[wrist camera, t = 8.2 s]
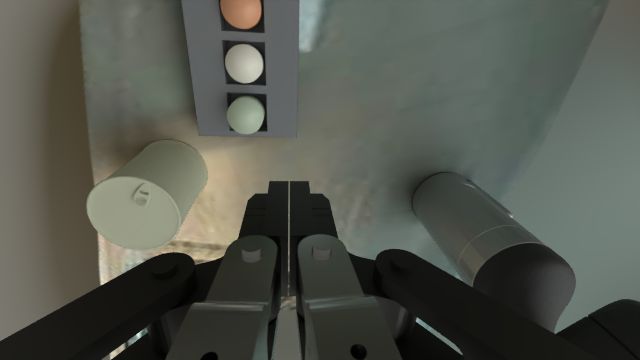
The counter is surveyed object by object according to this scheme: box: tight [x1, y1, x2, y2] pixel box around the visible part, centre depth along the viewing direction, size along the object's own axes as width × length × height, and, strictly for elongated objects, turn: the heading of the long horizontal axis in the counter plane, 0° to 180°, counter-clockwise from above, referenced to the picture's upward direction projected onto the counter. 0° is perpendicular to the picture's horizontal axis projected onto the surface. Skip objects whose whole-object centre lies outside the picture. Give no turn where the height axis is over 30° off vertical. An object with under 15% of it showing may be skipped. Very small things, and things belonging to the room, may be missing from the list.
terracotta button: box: [220, 0, 263, 29], centre depth 31 cm, size 4×4×3 cm
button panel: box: [181, 0, 299, 138], centre depth 34 cm, size 12×17×3 cm
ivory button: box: [225, 44, 264, 83], centre depth 34 cm, size 4×4×3 cm
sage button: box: [227, 95, 265, 134], centre depth 35 cm, size 4×4×3 cm
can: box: [86, 140, 208, 250], centre depth 36 cm, size 9×9×12 cm
